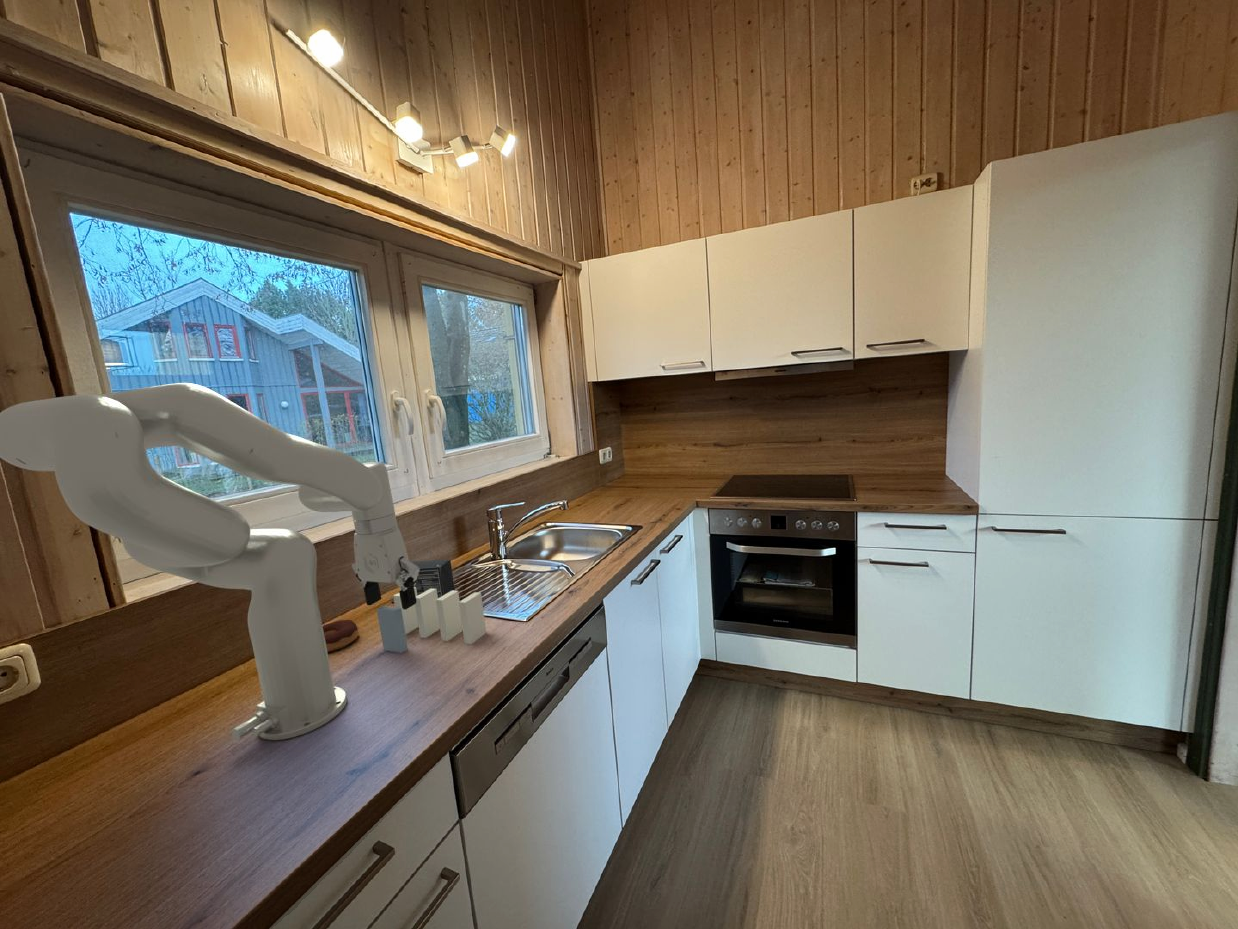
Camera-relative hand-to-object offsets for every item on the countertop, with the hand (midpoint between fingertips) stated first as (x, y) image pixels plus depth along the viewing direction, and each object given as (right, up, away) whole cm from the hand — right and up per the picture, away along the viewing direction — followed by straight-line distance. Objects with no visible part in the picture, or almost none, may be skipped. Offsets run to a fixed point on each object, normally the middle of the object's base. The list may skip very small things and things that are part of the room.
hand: (391, 604), depth 101 cm
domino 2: (0, -8, +9) cm, 12 cm away
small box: (-1, -7, +24) cm, 24 cm away
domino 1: (+1, -9, +1) cm, 9 cm away
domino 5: (+17, -8, +2) cm, 18 cm away
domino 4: (+11, -8, +5) cm, 14 cm away
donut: (-15, -11, +6) cm, 20 cm away
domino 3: (+6, -8, +7) cm, 12 cm away
